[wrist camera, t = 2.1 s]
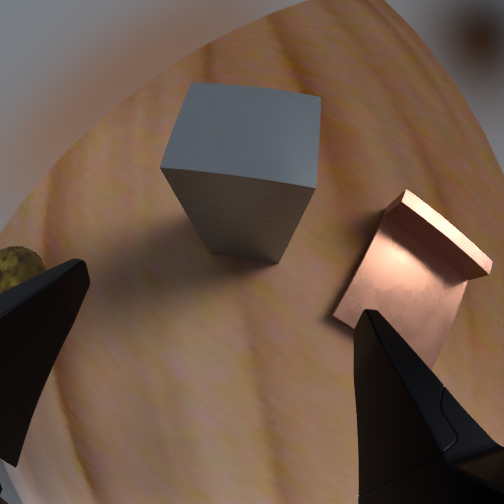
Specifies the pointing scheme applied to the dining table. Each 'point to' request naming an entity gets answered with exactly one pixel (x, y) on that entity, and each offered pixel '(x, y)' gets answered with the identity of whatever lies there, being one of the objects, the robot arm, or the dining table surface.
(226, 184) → the block
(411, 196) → the plate
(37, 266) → the potato
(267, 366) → the dining table surface
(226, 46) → the dining table surface
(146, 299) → the dining table surface
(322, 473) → the dining table surface
